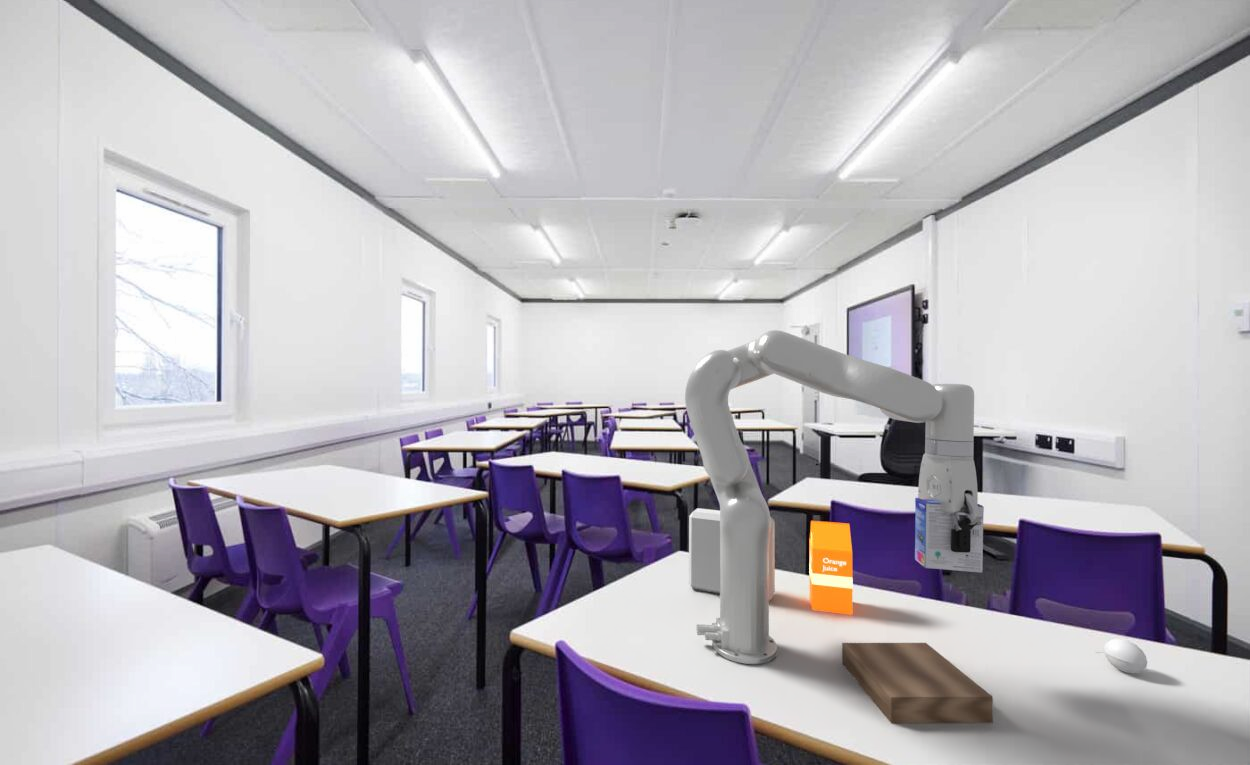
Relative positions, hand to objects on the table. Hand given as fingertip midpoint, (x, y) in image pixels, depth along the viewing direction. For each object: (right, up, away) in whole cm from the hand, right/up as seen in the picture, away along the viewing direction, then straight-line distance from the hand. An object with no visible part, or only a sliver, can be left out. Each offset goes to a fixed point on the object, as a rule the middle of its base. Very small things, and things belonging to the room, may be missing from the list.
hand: (947, 544), depth 89 cm
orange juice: (-11, -24, +26) cm, 37 cm away
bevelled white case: (-33, -24, +33) cm, 53 cm away
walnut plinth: (-11, -23, -7) cm, 26 cm away
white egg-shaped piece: (+32, -23, 0) cm, 39 cm away
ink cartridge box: (0, -4, 0) cm, 4 cm away
